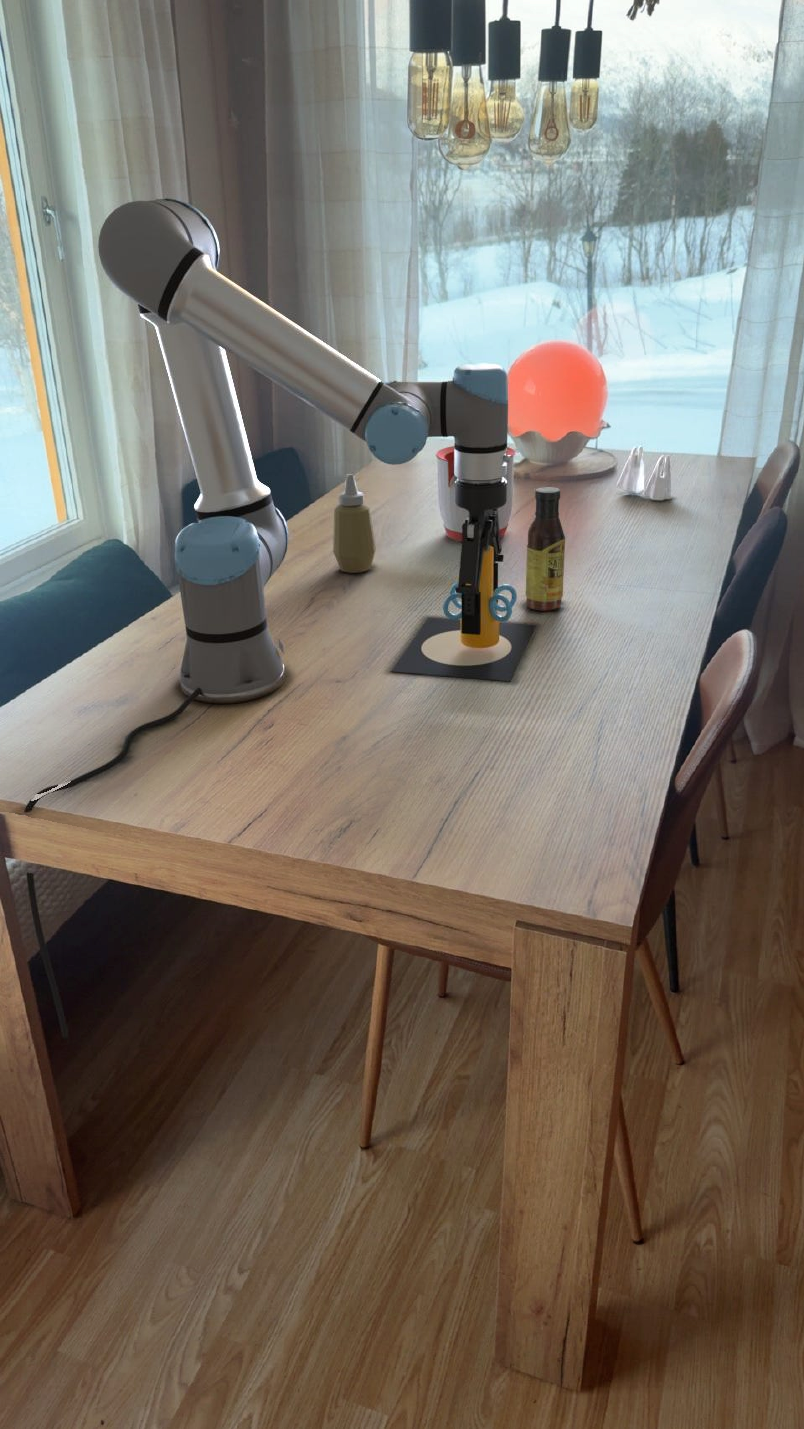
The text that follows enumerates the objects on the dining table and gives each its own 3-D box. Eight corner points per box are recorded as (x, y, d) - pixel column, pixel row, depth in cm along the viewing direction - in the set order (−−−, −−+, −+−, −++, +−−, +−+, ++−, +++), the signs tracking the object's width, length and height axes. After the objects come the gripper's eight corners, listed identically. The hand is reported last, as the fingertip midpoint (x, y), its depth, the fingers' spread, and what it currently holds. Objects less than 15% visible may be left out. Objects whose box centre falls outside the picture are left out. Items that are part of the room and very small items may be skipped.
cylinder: (509, 659, 157) (510, 563, 150) (440, 655, 159) (438, 560, 152) (518, 628, 167) (520, 537, 161) (453, 625, 170) (452, 535, 163)
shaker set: (614, 495, 239) (617, 446, 234) (623, 491, 242) (626, 442, 237) (663, 502, 232) (666, 452, 227) (672, 498, 235) (675, 448, 230)
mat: (510, 681, 153) (510, 681, 153) (391, 671, 157) (391, 671, 157) (535, 625, 171) (535, 624, 171) (428, 618, 176) (428, 617, 176)
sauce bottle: (552, 615, 175) (556, 497, 166) (518, 609, 178) (520, 493, 169) (569, 602, 180) (573, 487, 171) (535, 596, 183) (538, 483, 174)
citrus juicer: (422, 546, 211) (419, 445, 202) (454, 521, 225) (452, 426, 216) (496, 553, 205) (496, 450, 196) (524, 528, 219) (525, 430, 210)
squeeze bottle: (385, 567, 200) (381, 473, 192) (355, 578, 195) (349, 482, 187) (355, 559, 205) (350, 466, 197) (325, 570, 200) (318, 475, 192)
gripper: (488, 501, 140) (488, 650, 150) (521, 458, 161) (519, 591, 171) (434, 499, 142) (436, 646, 152) (473, 457, 163) (473, 588, 173)
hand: (480, 617), depth 161 cm, fingers closed on cylinder, 12 cm apart
